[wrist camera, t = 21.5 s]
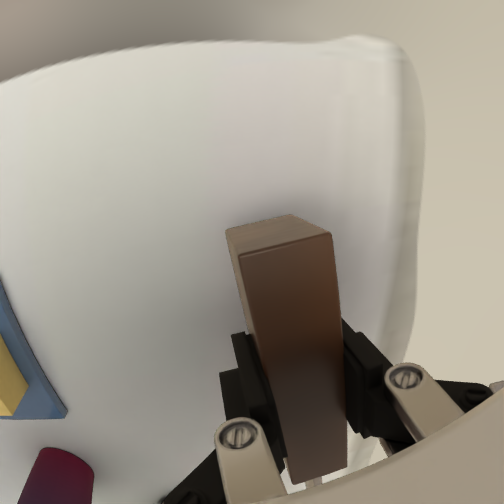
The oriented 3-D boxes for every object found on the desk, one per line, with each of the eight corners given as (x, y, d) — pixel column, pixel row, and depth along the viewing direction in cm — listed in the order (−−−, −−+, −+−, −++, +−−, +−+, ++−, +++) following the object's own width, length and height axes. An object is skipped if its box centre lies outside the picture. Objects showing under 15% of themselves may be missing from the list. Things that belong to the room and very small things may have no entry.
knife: (291, 213, 11) (332, 231, 8) (328, 494, 16) (344, 531, 13) (224, 229, 11) (236, 255, 7) (294, 505, 16) (308, 544, 12)
